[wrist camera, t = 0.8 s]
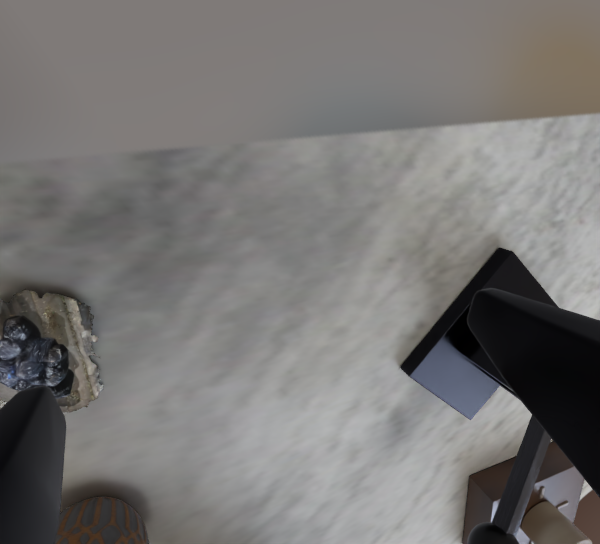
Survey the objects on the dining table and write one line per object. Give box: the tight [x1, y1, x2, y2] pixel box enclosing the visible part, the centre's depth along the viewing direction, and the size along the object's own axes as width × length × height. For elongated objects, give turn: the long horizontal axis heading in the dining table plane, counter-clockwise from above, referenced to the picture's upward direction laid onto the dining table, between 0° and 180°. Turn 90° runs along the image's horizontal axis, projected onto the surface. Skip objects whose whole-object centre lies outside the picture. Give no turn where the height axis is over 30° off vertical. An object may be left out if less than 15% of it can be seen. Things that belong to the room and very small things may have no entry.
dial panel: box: [463, 442, 584, 544], centre depth 39 cm, size 12×10×3 cm
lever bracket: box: [400, 248, 559, 420], centre depth 27 cm, size 12×9×9 cm
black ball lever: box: [467, 415, 551, 544], centre depth 23 cm, size 14×3×3 cm, turn 139°
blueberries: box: [0, 289, 103, 413], centre depth 20 cm, size 7×8×2 cm
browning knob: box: [521, 501, 592, 544], centre depth 35 cm, size 4×4×4 cm
